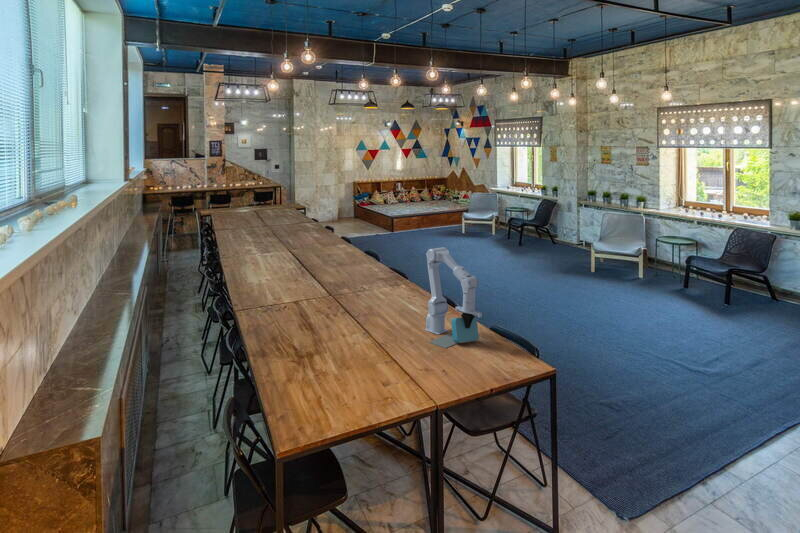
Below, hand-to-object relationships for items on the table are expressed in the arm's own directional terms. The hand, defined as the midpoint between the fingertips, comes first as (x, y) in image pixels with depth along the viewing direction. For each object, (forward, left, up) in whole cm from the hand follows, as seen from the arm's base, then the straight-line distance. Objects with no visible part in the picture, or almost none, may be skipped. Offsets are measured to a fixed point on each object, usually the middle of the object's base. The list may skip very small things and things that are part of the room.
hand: (467, 327), depth 243 cm
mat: (-9, 0, -8) cm, 12 cm away
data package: (-1, 0, -8) cm, 8 cm away
